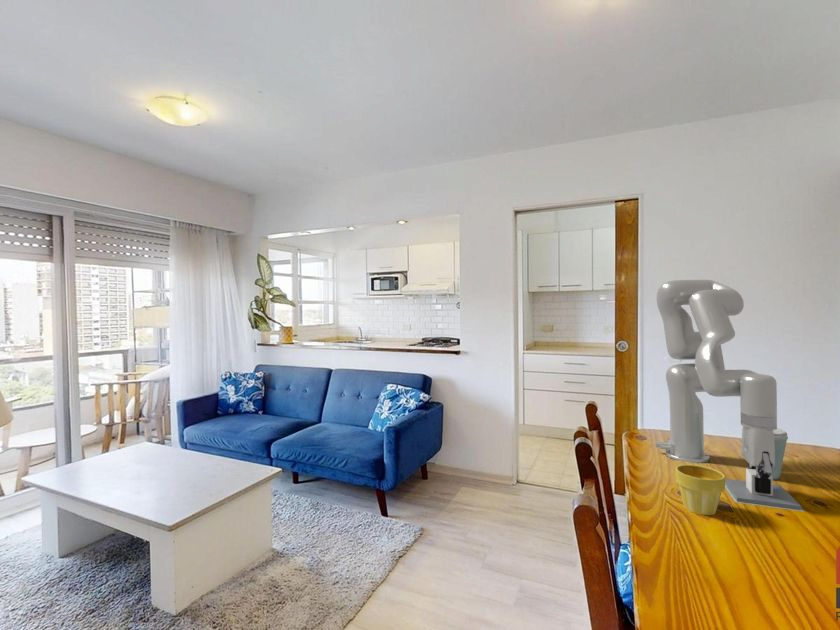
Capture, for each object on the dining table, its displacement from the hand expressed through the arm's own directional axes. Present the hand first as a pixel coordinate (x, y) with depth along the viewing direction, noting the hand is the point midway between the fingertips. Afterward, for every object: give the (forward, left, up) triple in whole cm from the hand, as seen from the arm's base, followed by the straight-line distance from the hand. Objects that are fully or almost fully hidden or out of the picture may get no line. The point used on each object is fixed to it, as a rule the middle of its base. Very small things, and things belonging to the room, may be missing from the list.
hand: (759, 488), depth 110 cm
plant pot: (-16, -14, -3) cm, 21 cm away
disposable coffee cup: (+6, +16, -2) cm, 17 cm away
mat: (0, 0, -2) cm, 2 cm away
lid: (0, 0, -2) cm, 2 cm away
